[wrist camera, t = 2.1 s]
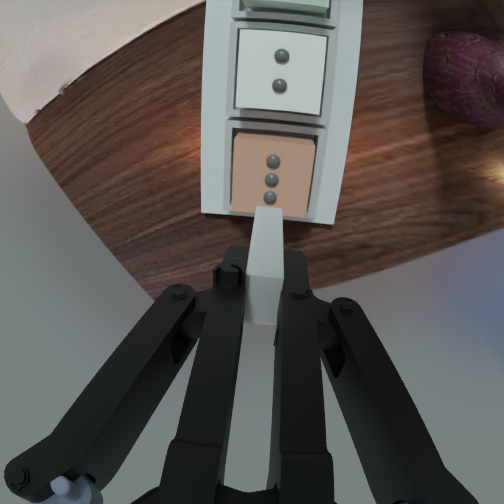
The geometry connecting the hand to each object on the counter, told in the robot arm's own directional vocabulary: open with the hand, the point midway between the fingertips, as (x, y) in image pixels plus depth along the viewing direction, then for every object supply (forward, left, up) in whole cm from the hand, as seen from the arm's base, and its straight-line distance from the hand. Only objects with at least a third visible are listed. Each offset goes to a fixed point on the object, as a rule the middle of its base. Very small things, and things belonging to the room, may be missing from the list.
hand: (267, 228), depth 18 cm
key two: (-9, 0, -11) cm, 14 cm away
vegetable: (-13, +19, -14) cm, 27 cm away
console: (-9, 0, -14) cm, 16 cm away
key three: (0, 0, -11) cm, 11 cm away
